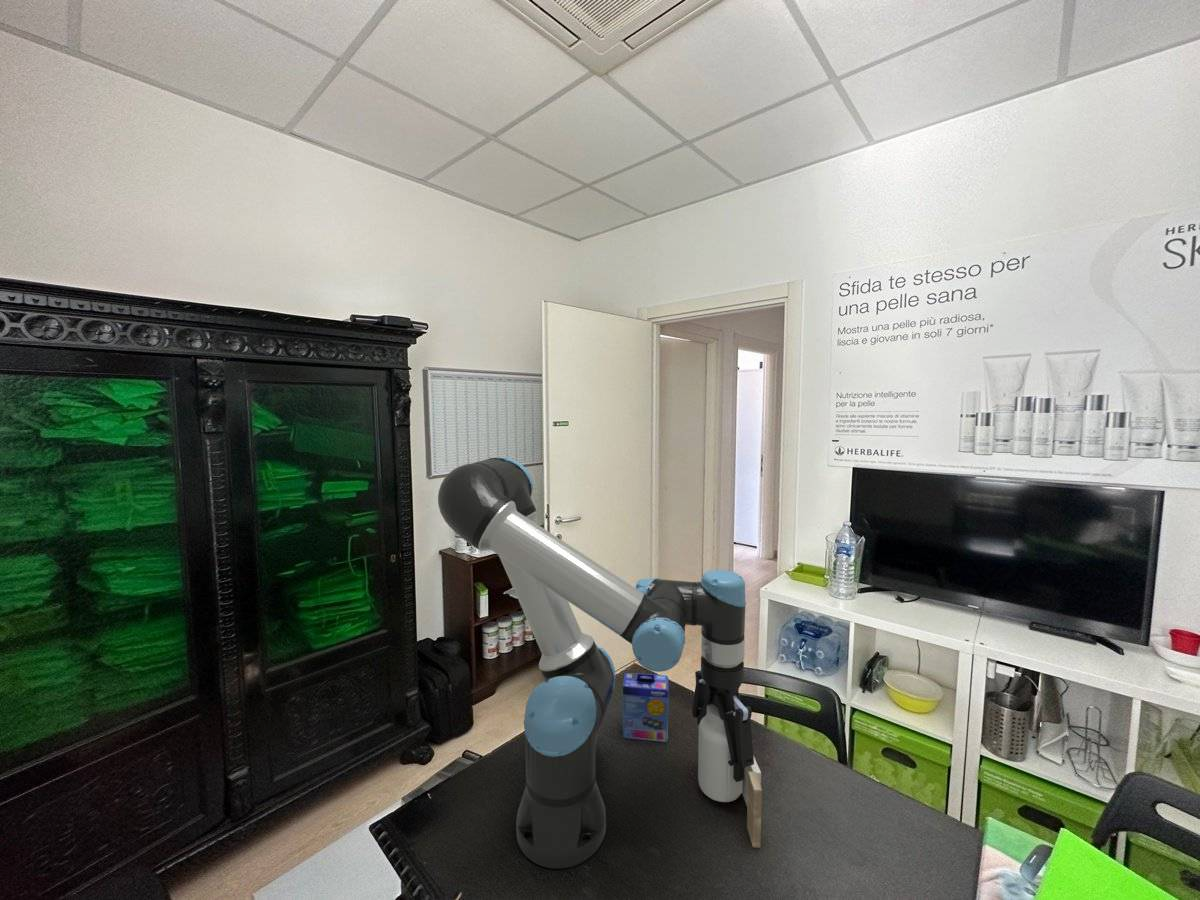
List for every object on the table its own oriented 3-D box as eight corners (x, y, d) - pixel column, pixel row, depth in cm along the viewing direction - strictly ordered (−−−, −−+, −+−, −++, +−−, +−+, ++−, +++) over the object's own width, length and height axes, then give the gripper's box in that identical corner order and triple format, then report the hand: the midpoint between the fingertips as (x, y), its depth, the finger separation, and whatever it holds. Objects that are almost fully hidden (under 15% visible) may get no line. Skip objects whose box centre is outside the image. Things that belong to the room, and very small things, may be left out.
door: (752, 822, 80) (753, 772, 79) (722, 737, 101) (722, 697, 100) (759, 822, 80) (761, 772, 79) (727, 737, 101) (728, 697, 100)
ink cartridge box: (621, 739, 100) (621, 675, 99) (623, 722, 106) (623, 661, 105) (668, 743, 99) (669, 678, 98) (667, 726, 105) (668, 664, 103)
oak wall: (752, 847, 76) (754, 789, 75) (718, 726, 105) (719, 683, 104) (760, 847, 76) (762, 790, 75) (724, 726, 104) (725, 683, 104)
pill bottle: (737, 770, 90) (739, 696, 89) (746, 805, 82) (748, 725, 81) (695, 767, 91) (696, 694, 90) (700, 802, 83) (701, 722, 82)
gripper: (674, 635, 93) (673, 744, 95) (742, 694, 74) (739, 829, 76) (706, 629, 96) (705, 734, 98) (780, 684, 76) (776, 814, 78)
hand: (719, 775), depth 87 cm, fingers closed on pill bottle, 8 cm apart
